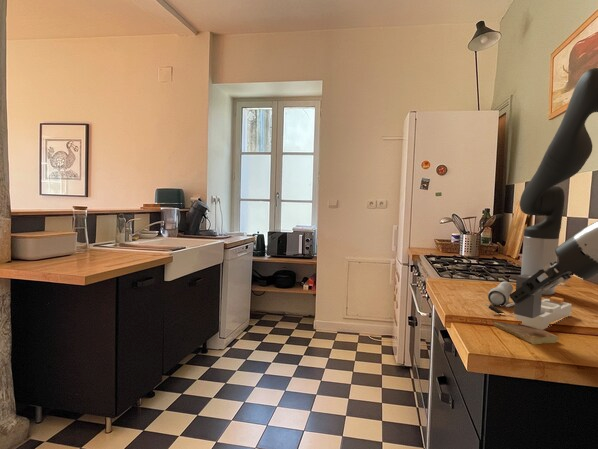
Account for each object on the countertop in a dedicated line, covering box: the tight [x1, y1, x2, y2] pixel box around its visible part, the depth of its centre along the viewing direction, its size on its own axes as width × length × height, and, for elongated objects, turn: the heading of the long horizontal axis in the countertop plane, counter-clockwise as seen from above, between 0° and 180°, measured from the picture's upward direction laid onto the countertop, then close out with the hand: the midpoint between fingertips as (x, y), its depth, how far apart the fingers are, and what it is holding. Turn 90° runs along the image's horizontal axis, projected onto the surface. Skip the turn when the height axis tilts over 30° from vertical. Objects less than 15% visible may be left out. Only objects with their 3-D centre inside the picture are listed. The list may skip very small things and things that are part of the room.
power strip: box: [514, 296, 573, 331], centre depth 88 cm, size 21×6×4 cm, turn 127°
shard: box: [491, 320, 560, 345], centre depth 78 cm, size 11×8×2 cm
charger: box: [513, 274, 543, 318], centre depth 75 cm, size 4×4×8 cm
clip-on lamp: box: [485, 281, 515, 315], centre depth 95 cm, size 12×6×18 cm
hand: (517, 297), depth 77 cm, fingers closed on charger, 4 cm apart
